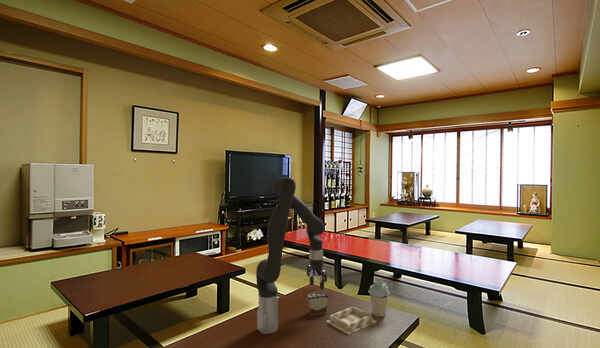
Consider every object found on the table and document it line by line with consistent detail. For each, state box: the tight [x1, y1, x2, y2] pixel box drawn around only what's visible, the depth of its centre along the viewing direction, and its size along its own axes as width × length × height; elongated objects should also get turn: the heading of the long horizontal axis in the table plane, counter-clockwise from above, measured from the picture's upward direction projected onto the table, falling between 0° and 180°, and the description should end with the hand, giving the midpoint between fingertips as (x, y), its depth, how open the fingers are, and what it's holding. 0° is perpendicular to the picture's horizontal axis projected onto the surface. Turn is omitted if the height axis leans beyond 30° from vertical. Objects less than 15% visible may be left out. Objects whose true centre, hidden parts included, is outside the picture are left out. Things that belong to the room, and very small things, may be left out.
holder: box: [325, 306, 378, 335], centre depth 159 cm, size 20×16×4 cm
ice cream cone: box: [368, 277, 391, 317], centre depth 168 cm, size 10×11×20 cm
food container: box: [306, 291, 330, 316], centre depth 172 cm, size 12×6×10 cm, turn 105°
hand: (316, 286), depth 172 cm, fingers open, 8 cm apart
